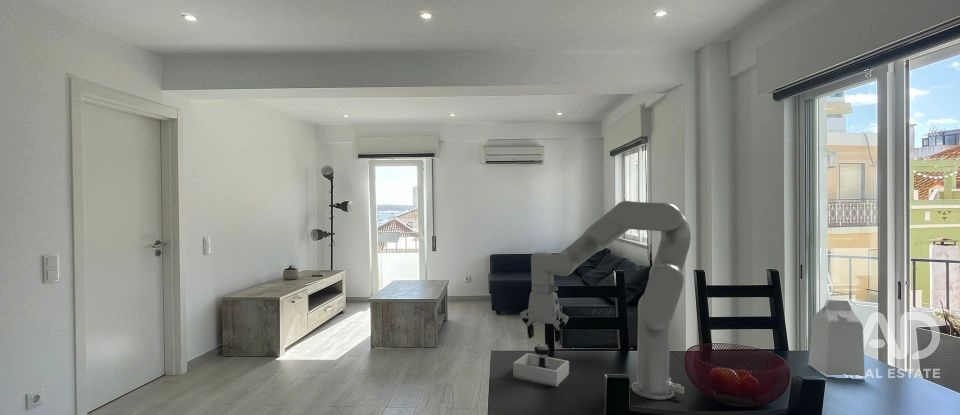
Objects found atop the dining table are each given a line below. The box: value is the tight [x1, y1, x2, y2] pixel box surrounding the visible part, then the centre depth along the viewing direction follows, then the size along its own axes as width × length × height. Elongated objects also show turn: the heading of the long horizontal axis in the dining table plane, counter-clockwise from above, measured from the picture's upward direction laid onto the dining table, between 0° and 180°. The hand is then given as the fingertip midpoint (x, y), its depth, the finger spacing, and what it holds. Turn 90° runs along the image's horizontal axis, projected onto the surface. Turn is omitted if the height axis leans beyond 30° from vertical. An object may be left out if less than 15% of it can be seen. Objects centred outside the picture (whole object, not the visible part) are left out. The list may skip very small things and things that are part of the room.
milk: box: [808, 298, 866, 376], centre depth 165 cm, size 12×12×26 cm
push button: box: [534, 343, 551, 369], centre depth 158 cm, size 7×5×10 cm
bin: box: [512, 352, 570, 388], centre depth 159 cm, size 16×12×5 cm
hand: (544, 339), depth 158 cm, fingers open, 9 cm apart
